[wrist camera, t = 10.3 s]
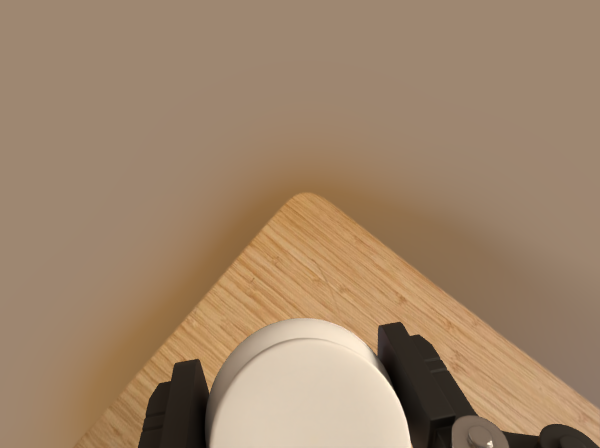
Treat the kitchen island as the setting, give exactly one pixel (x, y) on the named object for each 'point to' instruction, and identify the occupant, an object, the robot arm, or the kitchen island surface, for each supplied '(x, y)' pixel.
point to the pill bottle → (304, 392)
